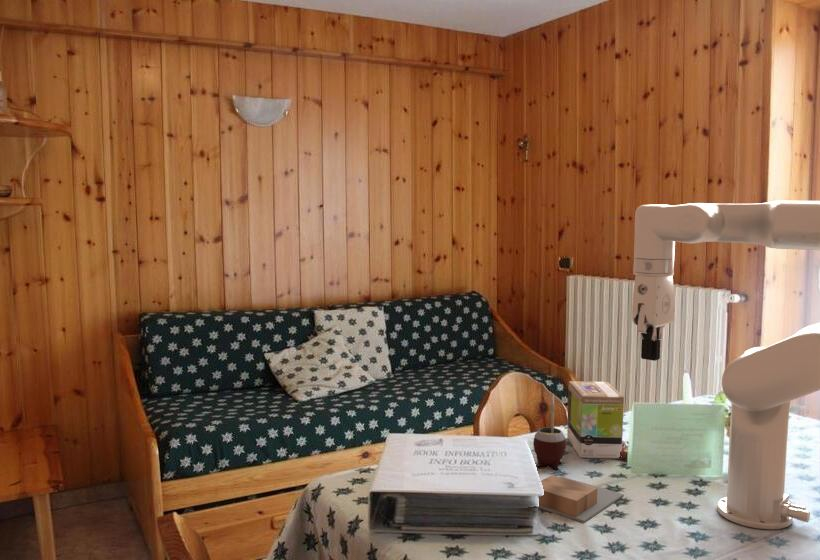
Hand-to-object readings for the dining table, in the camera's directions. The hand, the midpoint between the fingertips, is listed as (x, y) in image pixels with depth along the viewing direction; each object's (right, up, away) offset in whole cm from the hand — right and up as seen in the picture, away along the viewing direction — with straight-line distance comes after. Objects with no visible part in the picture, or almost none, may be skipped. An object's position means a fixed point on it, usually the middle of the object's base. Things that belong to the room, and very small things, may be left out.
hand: (650, 358), depth 140 cm
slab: (-16, -25, -1) cm, 30 cm away
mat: (-16, -27, -1) cm, 32 cm away
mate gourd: (-17, -26, +17) cm, 35 cm away
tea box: (-4, -25, +28) cm, 38 cm away
